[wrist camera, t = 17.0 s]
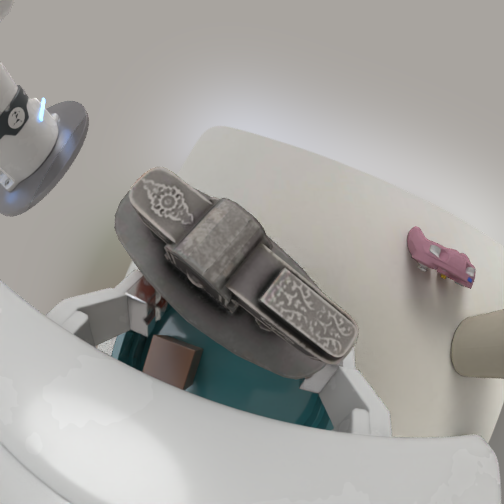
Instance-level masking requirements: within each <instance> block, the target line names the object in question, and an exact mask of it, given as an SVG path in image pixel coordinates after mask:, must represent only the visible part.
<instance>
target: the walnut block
mask: <svg viewBox="0 0 504 504" xmlns="http://www.w3.org/2000/svg"><path fill="white" fill-rule="evenodd" d="M202 352H203V348H200V347H197V346H194V345H191V344H189V343H186V342H183V341H181V340H178V339H175V338H173V337H170V336H168V335H153V338H152V341H151V344H150V347H149V350H148V354H147V357H146V360H145V364H144V367H143V371H142V372H143V373H145V374H147V375H150V376H152V377H154V378H156V379H158V380H161V381H163V382H165V383H167V384H170V385H172V386H175V387H177V388H179V389H182V390H184V391H185V390H186V389H187V388H189V387H190V386H191V385H192V384H193V381H194V377H195V374H196V371H197V368H198V365H199V362H200V358H201V355H202Z"/></svg>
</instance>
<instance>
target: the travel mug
mask: <svg viewBox="0 0 504 504" xmlns="http://www.w3.org/2000/svg"><path fill="white" fill-rule="evenodd" d="M451 355H452V362H453V365H454V368H455V370H456V371H457V373H458V374H460V375H461V376H464V377H478V378H503V379H504V309H503V310H499V311H494V312H490V313H486V314H481V315H477V316H472V317H468V318H466V319H465V320H463V321H462V322H461V323H460V325H459V326H458V328H457V330H456V332H455V335H454V338H453V342H452V350H451Z"/></svg>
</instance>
